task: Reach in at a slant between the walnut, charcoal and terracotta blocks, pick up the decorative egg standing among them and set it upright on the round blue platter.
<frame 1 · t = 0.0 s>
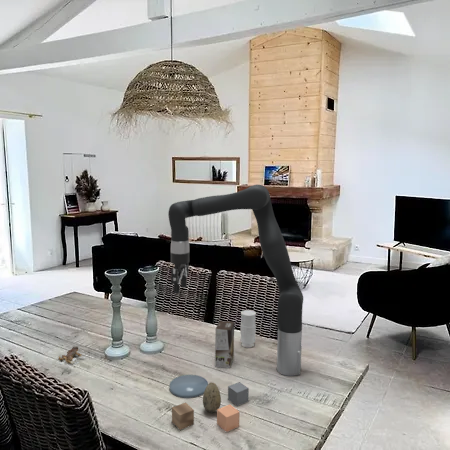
hand: (180, 289, 171), 29 cm above the table, tool pointing down, fingers open, 8 cm apart
candle: (247, 345, 188), on the table
frog figurine: (70, 359, 174), on the table
charcoal block: (238, 400, 144), on the table
round blue platter: (188, 387, 152), on the table
coffee box: (224, 362, 172), on the table
decorative egg: (211, 411, 138), on the table
walnut block: (182, 423, 132), on the table
terracotta block: (228, 425, 131), on the table
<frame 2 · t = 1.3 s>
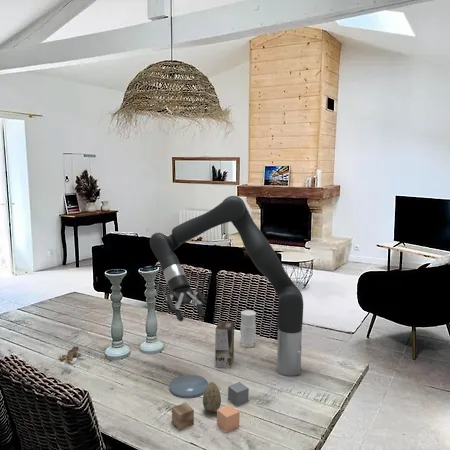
hand: (192, 317, 149), 26 cm above the table, tool tilted 45°, fingers open, 8 cm apart
nothing on the table moved.
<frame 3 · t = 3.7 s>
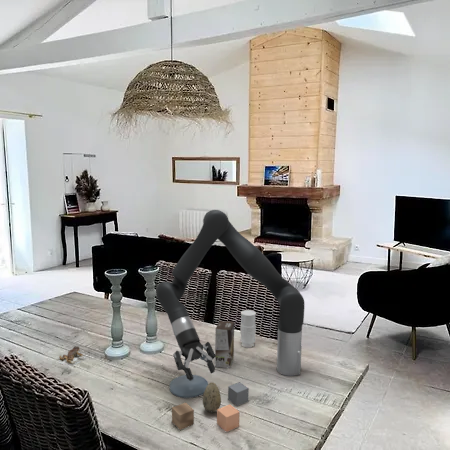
hand: (202, 376, 141), 10 cm above the table, tool tilted 45°, fingers open, 8 cm apart
nothing on the table moved.
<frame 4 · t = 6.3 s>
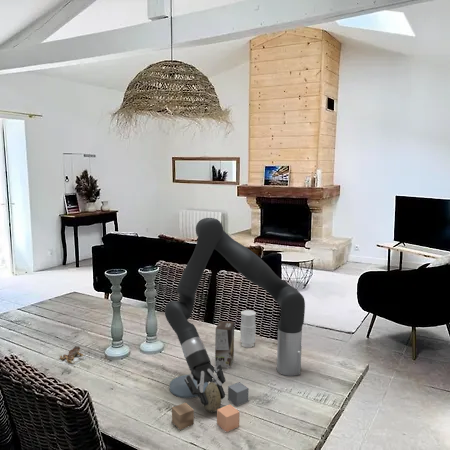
hand: (214, 401, 136), 4 cm above the table, tool tilted 45°, fingers closed on decorative egg, 6 cm apart
decorative egg: (211, 411, 138), on the table, touching gripper
everything else where it was.
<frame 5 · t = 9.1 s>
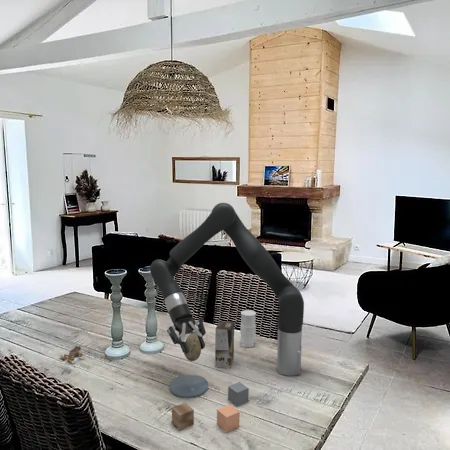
hand: (195, 350, 145), 16 cm above the table, tool tilted 45°, fingers closed on decorative egg, 6 cm apart
decorative egg: (192, 360, 147), point 12 cm above the table, touching gripper
everything else where it was.
when the fingers open (7 cm above the table, at t = 12.1 s): decorative egg drops 1 cm, resting on round blue platter.
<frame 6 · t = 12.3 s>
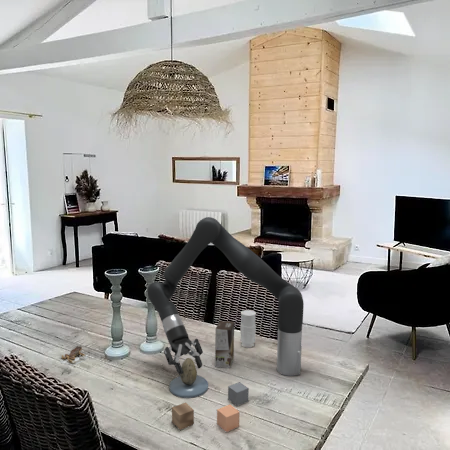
hand: (191, 370, 150), 7 cm above the table, tool tilted 45°, fingers open, 7 cm apart
decorative egg: (188, 384, 152), point 1 cm above the table, touching round blue platter
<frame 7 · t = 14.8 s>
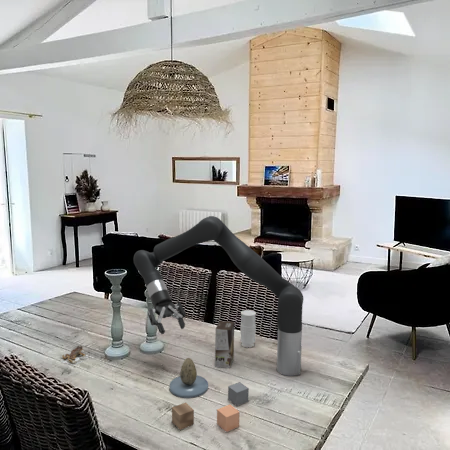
hand: (173, 330, 159), 18 cm above the table, tool tilted 45°, fingers open, 8 cm apart
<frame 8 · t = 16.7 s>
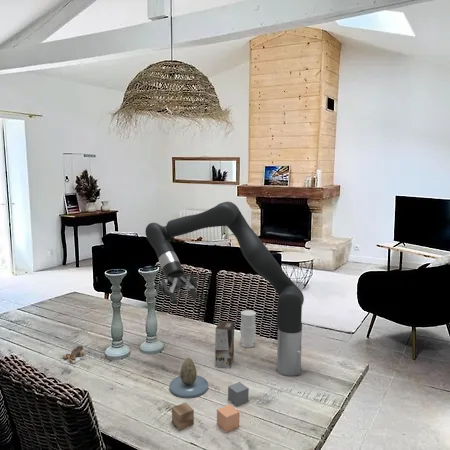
hand: (185, 300, 160), 29 cm above the table, tool tilted 45°, fingers open, 8 cm apart
at the end: decorative egg inside the target area on the round blue platter (0.2 cm from its centre), point 1.0 cm above the round blue platter's base; decorative egg tilted 0°; the gripper is holding nothing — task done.
